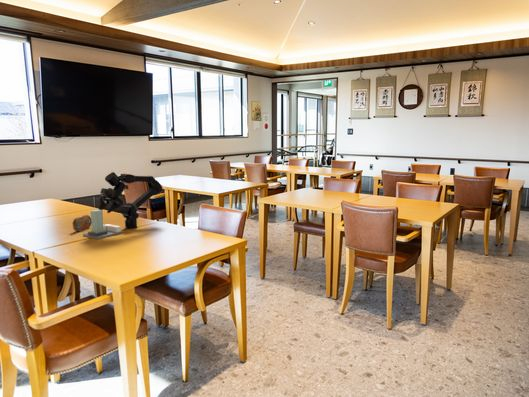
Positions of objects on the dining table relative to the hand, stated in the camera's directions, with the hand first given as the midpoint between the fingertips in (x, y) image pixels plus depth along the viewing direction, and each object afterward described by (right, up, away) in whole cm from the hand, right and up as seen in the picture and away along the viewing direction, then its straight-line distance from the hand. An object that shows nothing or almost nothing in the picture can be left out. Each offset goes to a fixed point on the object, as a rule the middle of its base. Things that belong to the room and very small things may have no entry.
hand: (103, 212), depth 235 cm
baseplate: (0, -13, +1) cm, 13 cm away
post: (-2, -13, -2) cm, 13 cm away
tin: (-17, -11, +12) cm, 24 cm away
